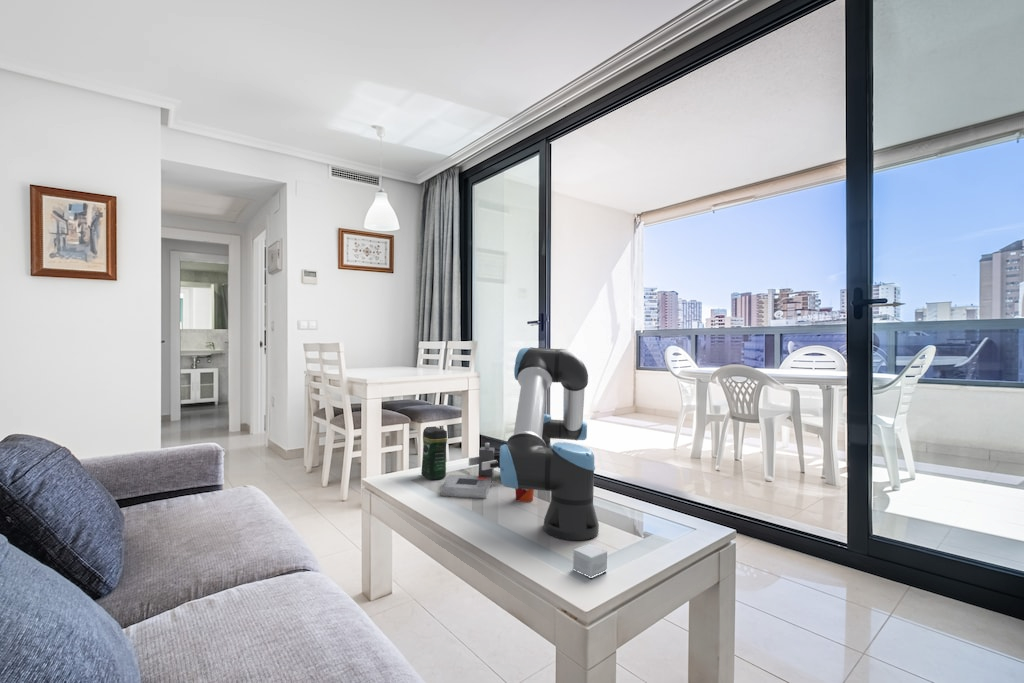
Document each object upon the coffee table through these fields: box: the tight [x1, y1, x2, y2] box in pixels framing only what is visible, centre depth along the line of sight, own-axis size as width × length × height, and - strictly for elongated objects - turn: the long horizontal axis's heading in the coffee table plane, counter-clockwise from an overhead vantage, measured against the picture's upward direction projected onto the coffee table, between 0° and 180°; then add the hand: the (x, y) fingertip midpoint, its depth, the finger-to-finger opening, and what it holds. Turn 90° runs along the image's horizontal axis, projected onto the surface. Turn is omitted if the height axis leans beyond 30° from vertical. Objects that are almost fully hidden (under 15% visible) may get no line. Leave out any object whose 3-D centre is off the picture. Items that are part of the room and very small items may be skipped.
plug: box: [477, 442, 495, 484], centre depth 178 cm, size 5×5×14 cm
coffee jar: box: [421, 426, 448, 481], centre depth 182 cm, size 10×8×19 cm
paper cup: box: [514, 488, 535, 503], centre depth 159 cm, size 8×8×14 cm
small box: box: [572, 543, 608, 577], centre depth 110 cm, size 6×6×5 cm
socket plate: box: [440, 474, 492, 499], centre depth 167 cm, size 15×15×3 cm
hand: (475, 464), depth 175 cm, fingers closed on plug, 7 cm apart
